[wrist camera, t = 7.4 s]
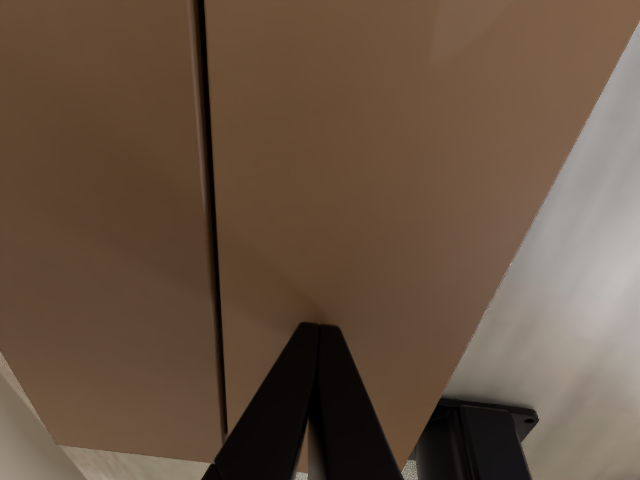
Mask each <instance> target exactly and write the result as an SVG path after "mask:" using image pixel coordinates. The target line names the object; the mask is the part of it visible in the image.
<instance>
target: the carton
mask: <svg viewBox="0 0 640 480" xmlns="http://www.w3.org/2000/svg"><path fill="white" fill-rule="evenodd" d="M0 351H1V353H2V355H3V356H4V358H5V360H6V361H7V363H8V365H9V366H10V368H11V370H12V371H13V373H14V375H15V376H16V378H17V380H18V381H19V383H20V385H21V387H22V388H23V390H24V392H25V393H26V395H27V397H28V398H29V400H30V402H31V403H32V405H33V407H34V408H35V410H36V412H37V414H38V415H39V417H40V419H41V420H42V422H43V424H44V425H45V427H46V429H47V430H48V432H49V434H50V435H51V437H52V439H53V440H54V442H55V444H56V445H63V446H71V447H80V448H88V449H97V450H105V451H114V452H122V453H130V454H139V455H147V456H156V457H164V458H173V459H181V460H190V461H198V462H206V463H214V459H215V457H216V456H217V454H218V452H219V451H220V449H221V448H222V446H223V444H224V443H225V441H226V440H227V438H228V425H227V407H226V389H225V371H224V353H223V335H222V317H221V299H220V280H219V262H218V244H217V226H216V208H215V190H214V172H213V154H212V136H211V118H210V100H209V81H208V63H207V45H206V27H205V9H204V0H0Z"/></svg>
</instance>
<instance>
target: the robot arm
mask: <svg viewBox="0 0 640 480" xmlns="http://www.w3.org/2000/svg"><path fill="white" fill-rule="evenodd" d="M538 421H539V419H538V416H537V413H536V411H535V410H532V409H525V408H517V407H508V406H500V405H492V404H484V403H476V402H467V401H459V400H451V399H443V398H440V400H439V401H438V403H437V405H436V407H435V409H434V411H433V413H432V415H431V417H430V419H429V420H428V422H427V424H426V426H425V428H424V430H423V432H422V434H421V436H420V437H419V439H418V441H417V443H416V445H415V447H414V449H413V451H412V453H411V454H410V456H409V458H408V460H415V461H416V466H417V475H418V480H532V477H531V474H530V471H529V468H528V465H527V461H526V458H525V455H524V452H523V449H522V446H521V442H522V441H523V439H524V438H525V437H526V436H527V435H528V433H529V432H530V431H531V430H532V429H533V428H534V426H535V425H536V424H537V423H538ZM307 423H308V480H404V478H403V476H402V474H401V471H400V469H399V466H398V464H397V462H396V459H395V457H394V455H393V452H392V450H391V447H390V445H389V443H388V440H387V438H386V436H385V433H384V431H383V428H382V426H381V424H380V421H379V419H378V417H377V414H376V412H375V409H374V407H373V405H372V402H371V400H370V398H369V395H368V393H367V390H366V388H365V386H364V383H363V381H362V379H361V376H360V374H359V371H358V369H357V367H356V364H355V362H354V359H353V357H352V355H351V352H350V350H349V348H348V345H347V343H346V340H345V338H344V336H343V333H342V331H341V329H340V327H339V326H337V325H330V324H321V325H320V326H319V324H318V323H314V322H306V321H302V322H300V323H299V325H298V326H297V328H296V329H295V331H294V333H293V334H292V336H291V337H290V339H289V341H288V342H287V344H286V345H285V347H284V349H283V350H282V352H281V353H280V355H279V357H278V358H277V360H276V361H275V363H274V365H273V366H272V368H271V369H270V371H269V373H268V374H267V376H266V377H265V379H264V381H263V382H262V384H261V385H260V387H259V388H258V390H257V392H256V393H255V395H254V396H253V398H252V400H251V401H250V403H249V404H248V406H247V408H246V409H245V411H244V412H243V414H242V416H241V417H240V419H239V420H238V422H237V424H236V425H235V427H234V428H233V430H232V432H231V433H230V435H229V436H228V438H227V440H226V441H225V443H224V444H223V446H222V448H221V449H220V451H219V452H218V454H217V456H216V457H215V459H214V464H211V465H210V466H209V468H208V469H207V471H206V473H205V474H204V476H203V477H202V479H201V480H295V478H296V473H297V469H298V464H299V460H300V456H301V451H302V447H303V443H304V438H305V433H306V428H307Z"/></svg>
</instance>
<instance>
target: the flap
mask: <svg viewBox="0 0 640 480" xmlns="http://www.w3.org/2000/svg"><path fill="white" fill-rule="evenodd" d="M204 9H205V27H206V45H207V63H208V81H209V100H210V118H211V136H212V154H213V172H214V190H215V208H216V226H217V244H218V262H219V280H220V299H221V317H222V335H223V353H224V371H225V389H226V407H227V425H228V436H229V435H230V433H231V432H232V430H233V428H234V427H235V425H236V424H237V422H238V420H239V419H240V417H241V416H242V414H243V412H244V411H245V409H246V408H247V406H248V404H249V403H250V401H251V400H252V398H253V396H254V395H255V393H256V392H257V390H258V388H259V387H260V385H261V384H262V382H263V381H264V379H265V377H266V376H267V374H268V373H269V371H270V369H271V368H272V366H273V365H274V363H275V361H276V360H277V358H278V357H279V355H280V353H281V352H282V350H283V349H284V347H285V345H286V344H287V342H288V341H289V339H290V337H291V336H292V334H293V333H294V331H295V329H296V328H297V326H298V325H299V323H300V322H302V321H306V322H314V323H318V324H319V326H320V325H321V324H330V325H337V326H339V327H340V329H341V331H342V333H343V336H344V338H345V340H346V343H347V345H348V348H349V350H350V352H351V355H352V357H353V359H354V362H355V364H356V367H357V369H358V371H359V374H360V376H361V379H362V381H363V383H364V386H365V388H366V390H367V393H368V395H369V398H370V400H371V402H372V405H373V407H374V409H375V412H376V414H377V417H378V419H379V421H380V424H381V426H382V428H383V431H384V433H385V436H386V438H387V440H388V443H389V445H390V447H391V450H392V452H393V455H394V457H395V459H396V462H397V464H398V466H399V469H400V471H401V472H402V470H403V468H404V466H405V464H406V462H407V460H408V458H409V456H410V454H411V453H412V451H413V449H414V447H415V445H416V443H417V441H418V439H419V437H420V436H421V434H422V432H423V430H424V428H425V426H426V424H427V422H428V420H429V419H430V417H431V415H432V413H433V411H434V409H435V407H436V405H437V403H438V401H439V400H440V398H441V396H442V394H443V392H444V390H445V388H446V386H447V384H448V383H449V381H450V379H451V377H452V375H453V373H454V371H455V369H456V367H457V366H458V364H459V362H460V360H461V358H462V356H463V354H464V352H465V350H466V348H467V347H468V345H469V343H470V341H471V339H472V337H473V335H474V333H475V331H476V330H477V328H478V326H479V324H480V322H481V320H482V318H483V316H484V314H485V313H486V311H487V309H488V307H489V305H490V303H491V301H492V299H493V297H494V295H495V294H496V292H497V290H498V288H499V286H500V284H501V282H502V280H503V278H504V277H505V275H506V273H507V271H508V269H509V267H510V265H511V263H512V261H513V259H514V258H515V256H516V254H517V252H518V250H519V248H520V246H521V244H522V242H523V241H524V239H525V237H526V235H527V233H528V231H529V229H530V227H531V225H532V224H533V222H534V220H535V218H536V216H537V214H538V212H539V210H540V208H541V206H542V205H543V203H544V201H545V199H546V197H547V195H548V193H549V191H550V189H551V188H552V186H553V184H554V182H555V180H556V178H557V176H558V174H559V172H560V171H561V169H562V167H563V165H564V163H565V161H566V159H567V157H568V155H569V153H570V152H571V150H572V148H573V146H574V144H575V142H576V140H577V138H578V136H579V135H580V133H581V131H582V129H583V127H584V125H585V123H586V121H587V119H588V118H589V116H590V114H591V112H592V110H593V108H594V106H595V104H596V102H597V100H598V99H599V97H600V95H601V93H602V91H603V89H604V87H605V85H606V83H607V82H608V80H609V78H610V76H611V74H612V72H613V70H614V68H615V66H616V65H617V63H618V61H619V59H620V57H621V55H622V53H623V51H624V49H625V47H626V46H627V44H628V42H629V40H630V38H631V36H632V34H633V32H634V30H635V29H636V27H637V25H638V23H639V21H640V0H204ZM297 472H302V473H308V423H307V428H306V433H305V438H304V443H303V447H302V451H301V456H300V460H299V464H298V469H297Z"/></svg>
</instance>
